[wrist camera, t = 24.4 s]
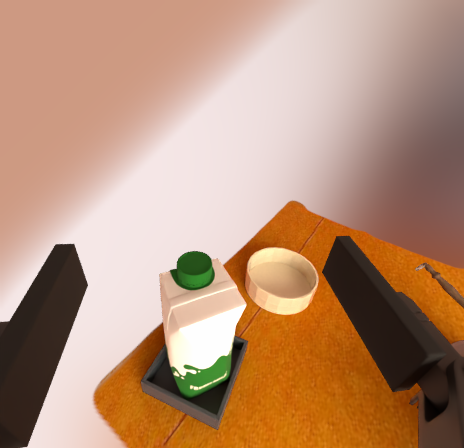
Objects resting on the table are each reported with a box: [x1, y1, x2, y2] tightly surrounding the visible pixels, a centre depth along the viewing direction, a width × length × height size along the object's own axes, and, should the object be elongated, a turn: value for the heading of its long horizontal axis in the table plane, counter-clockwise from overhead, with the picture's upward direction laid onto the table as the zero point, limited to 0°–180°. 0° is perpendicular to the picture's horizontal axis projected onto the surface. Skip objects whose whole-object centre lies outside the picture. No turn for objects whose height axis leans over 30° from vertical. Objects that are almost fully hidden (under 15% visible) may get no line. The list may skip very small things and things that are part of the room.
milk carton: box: [159, 251, 247, 401], centre depth 34 cm, size 9×9×20 cm
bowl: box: [245, 247, 319, 315], centre depth 54 cm, size 14×14×4 cm
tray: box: [141, 336, 248, 430], centre depth 39 cm, size 12×12×3 cm
